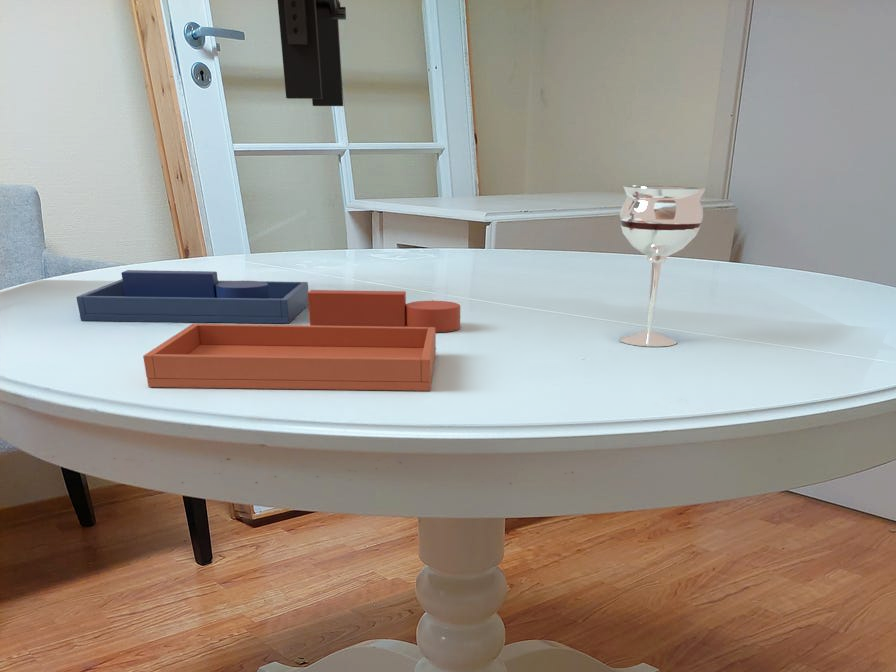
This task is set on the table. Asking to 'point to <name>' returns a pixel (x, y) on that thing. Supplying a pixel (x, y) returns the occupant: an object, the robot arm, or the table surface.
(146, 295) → the blue block
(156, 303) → the blue tray
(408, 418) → the table surface
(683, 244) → the wineglass
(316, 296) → the bar with round end
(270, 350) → the terracotta tray
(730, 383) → the table surface
